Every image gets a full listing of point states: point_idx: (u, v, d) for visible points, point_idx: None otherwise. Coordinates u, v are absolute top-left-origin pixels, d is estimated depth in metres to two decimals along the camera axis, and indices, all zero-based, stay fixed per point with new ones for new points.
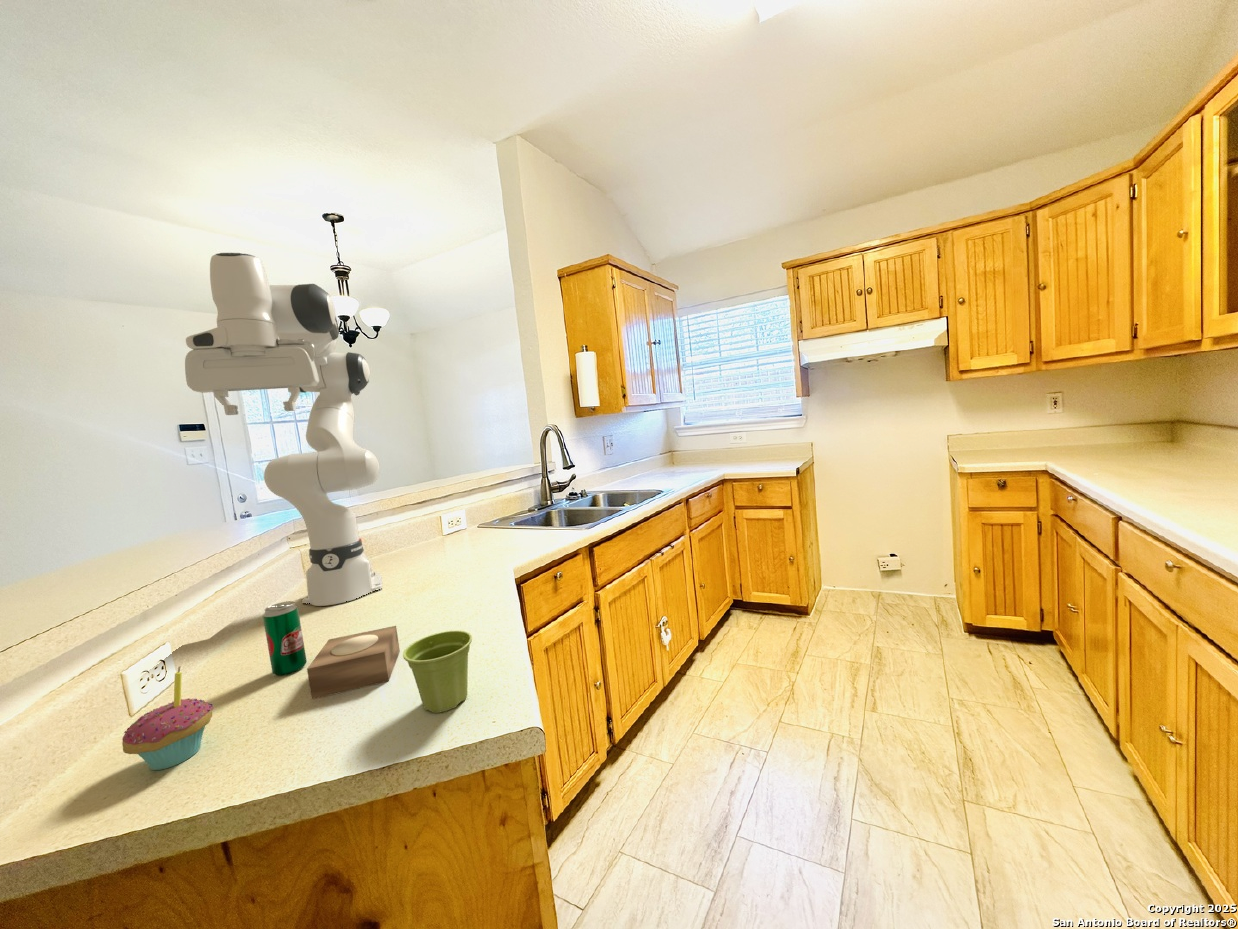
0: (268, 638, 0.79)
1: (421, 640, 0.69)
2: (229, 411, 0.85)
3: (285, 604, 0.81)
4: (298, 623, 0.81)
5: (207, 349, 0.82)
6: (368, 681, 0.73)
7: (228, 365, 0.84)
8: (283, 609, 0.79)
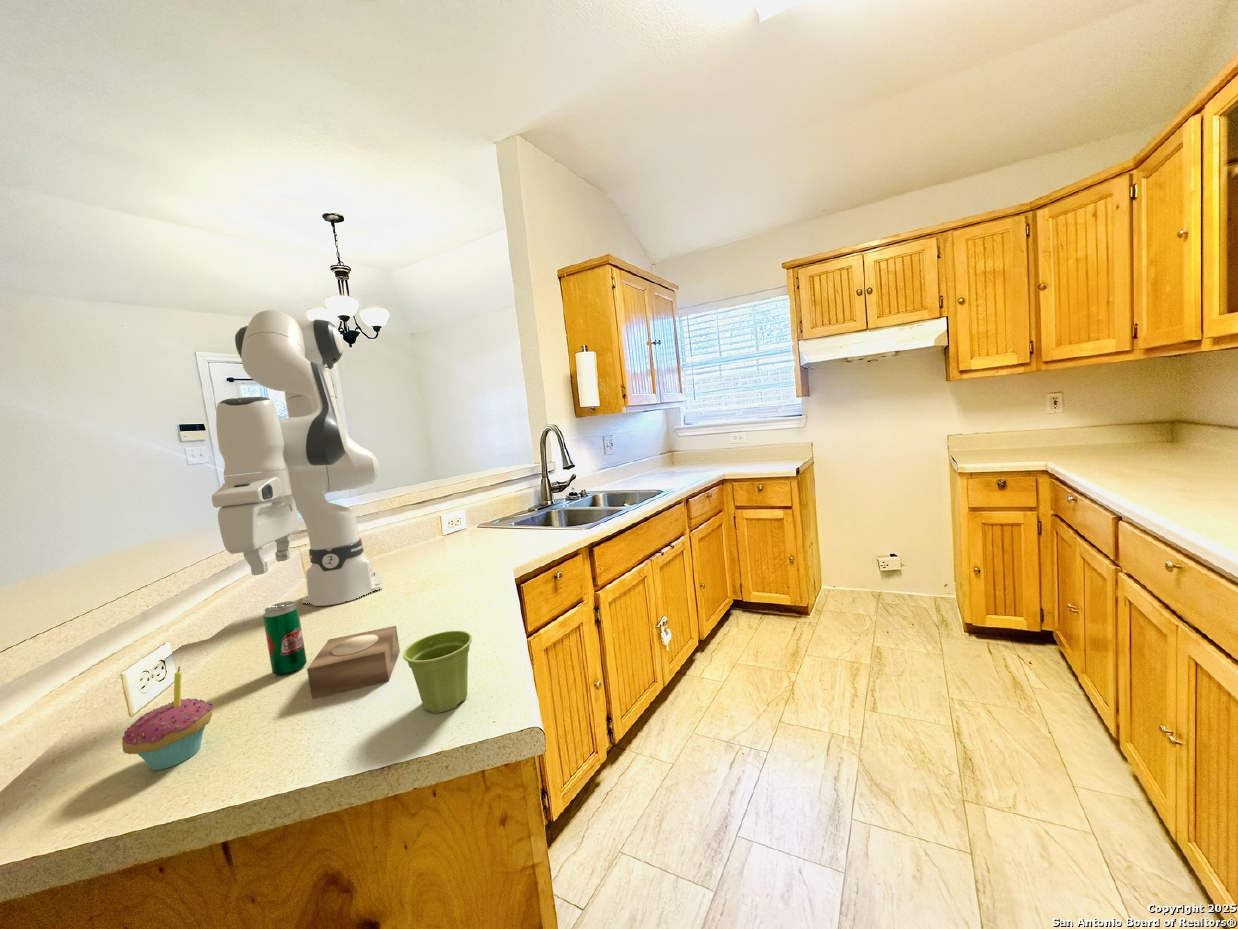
0: (268, 638, 0.79)
1: (421, 640, 0.69)
2: (265, 569, 0.75)
3: (285, 604, 0.81)
4: (298, 623, 0.81)
5: (264, 502, 0.74)
6: (368, 681, 0.73)
7: (265, 517, 0.76)
8: (283, 609, 0.79)
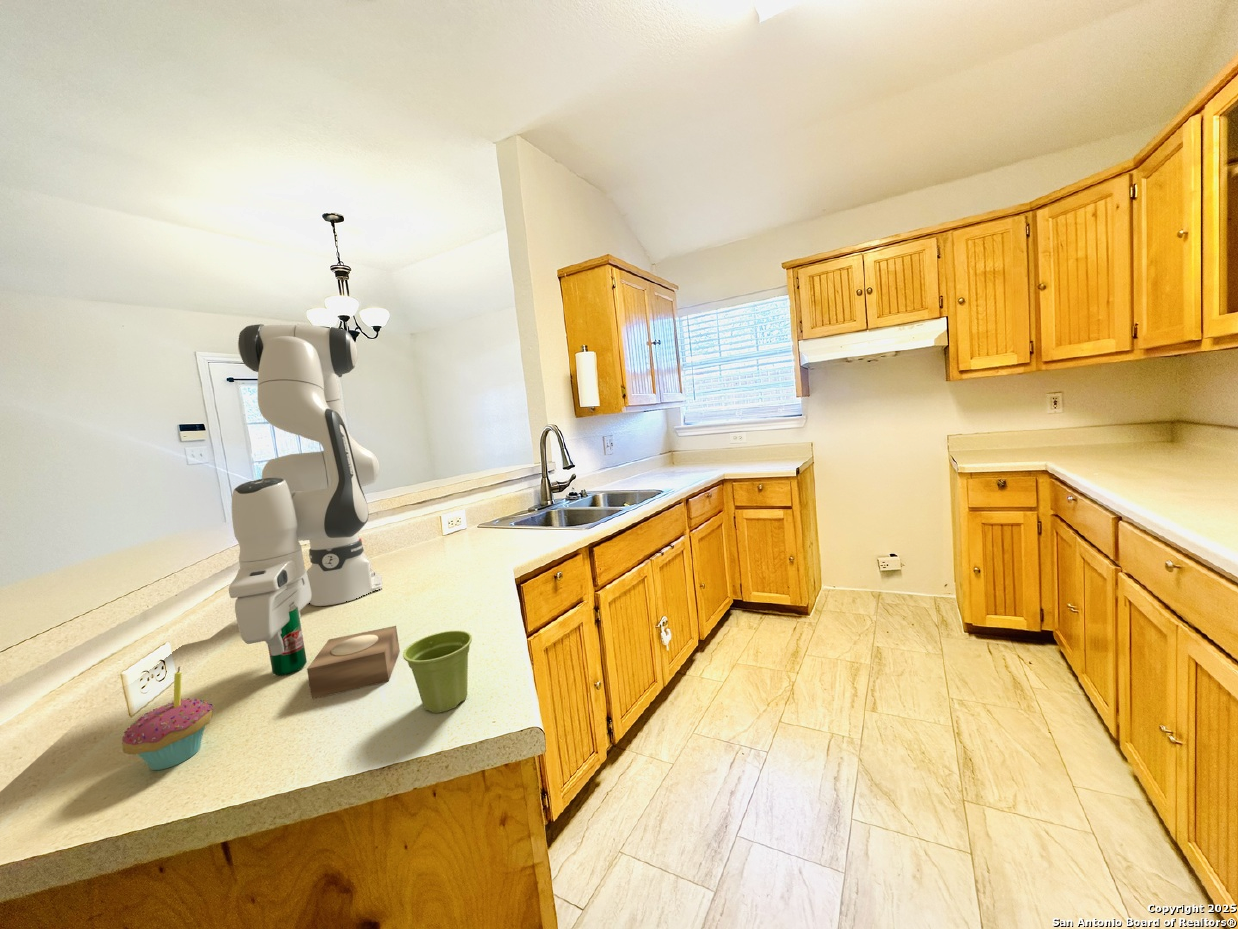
0: None
1: (421, 640, 0.69)
2: (284, 648, 0.78)
3: None
4: (298, 623, 0.81)
5: (280, 588, 0.75)
6: (368, 681, 0.73)
7: (280, 601, 0.78)
8: None
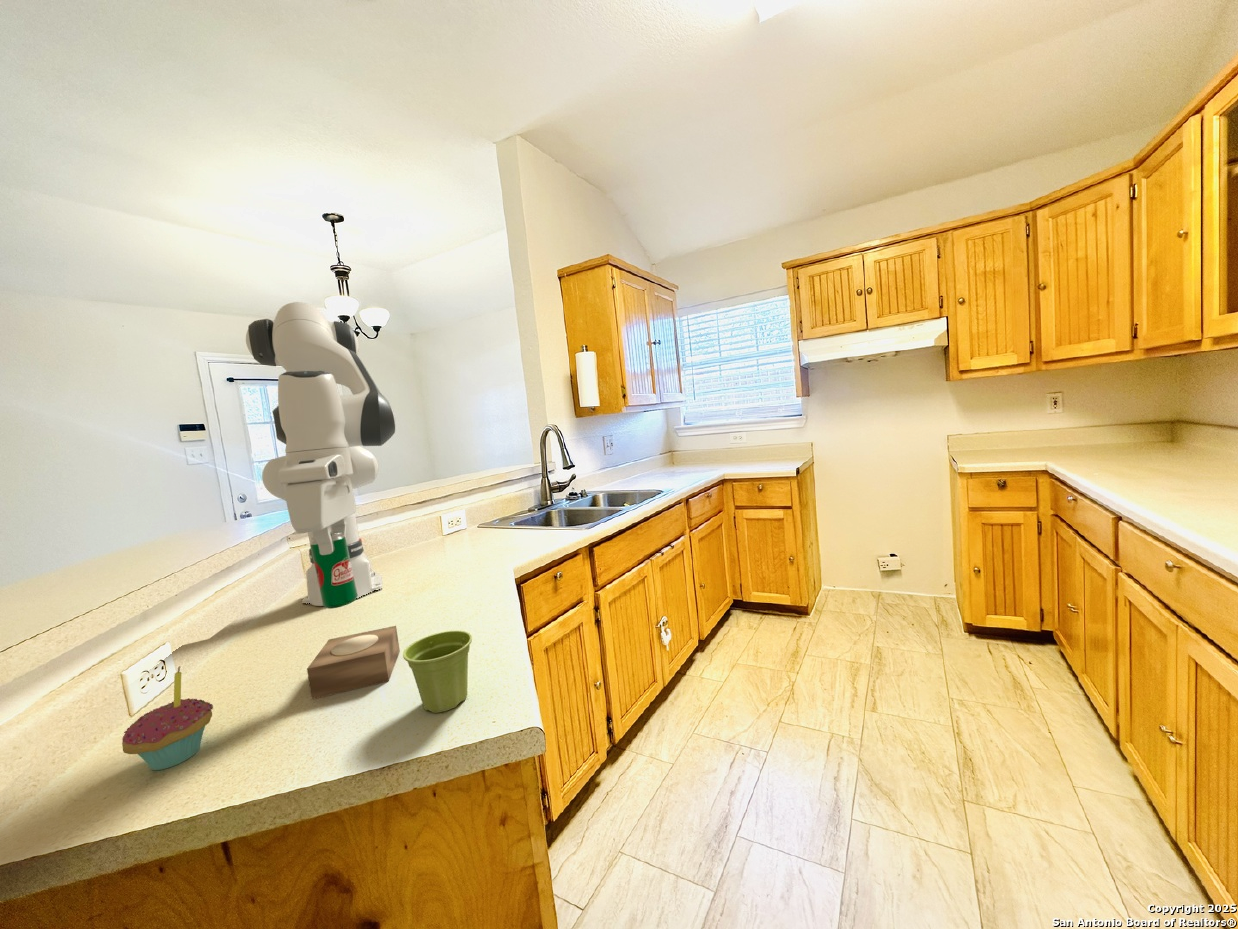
0: (317, 568, 0.74)
1: (421, 640, 0.69)
2: (333, 549, 0.73)
3: (332, 533, 0.76)
4: (347, 553, 0.76)
5: (330, 479, 0.70)
6: (368, 681, 0.73)
7: (329, 497, 0.72)
8: (331, 536, 0.74)
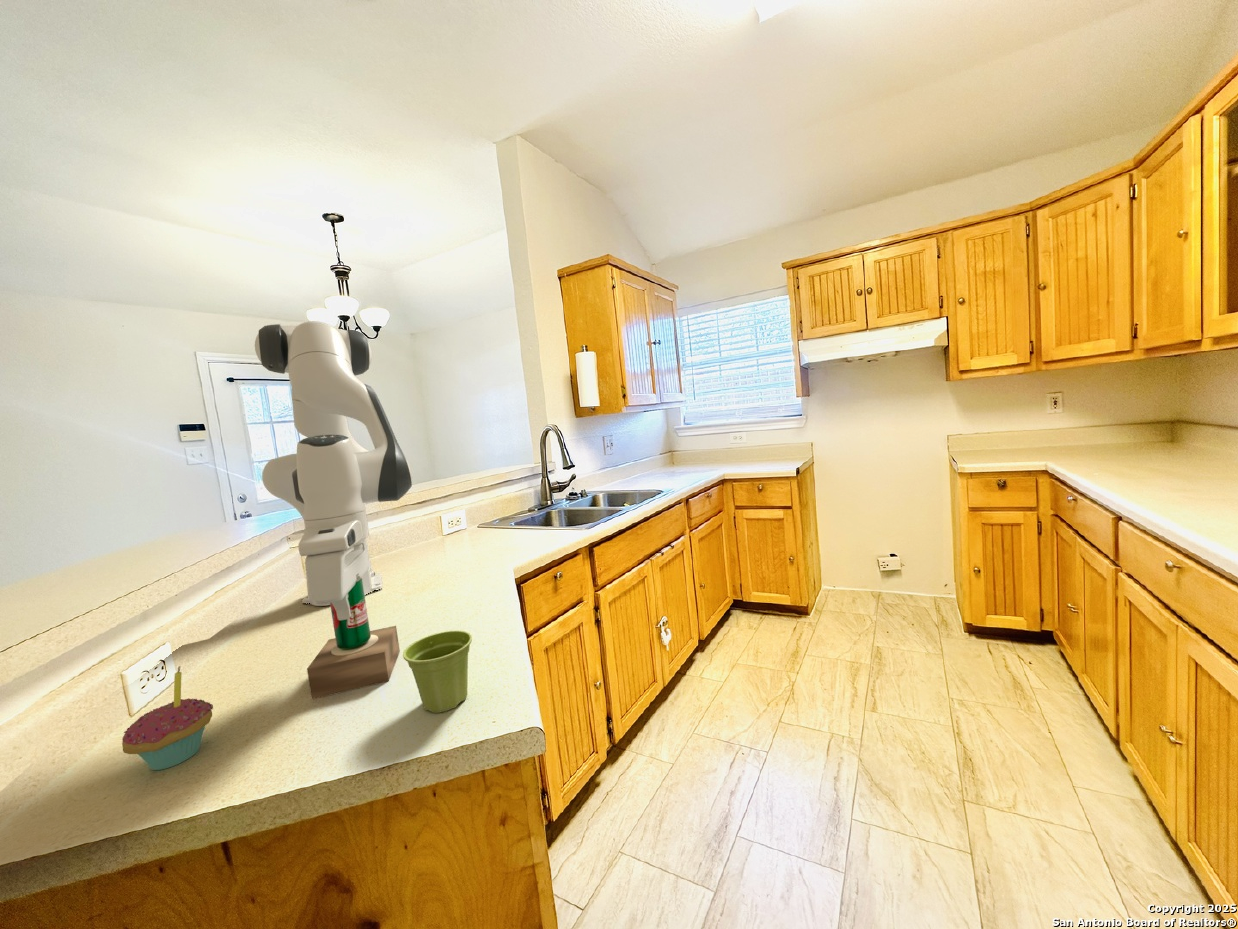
0: (333, 610, 0.74)
1: (421, 640, 0.69)
2: (350, 613, 0.74)
3: None
4: (363, 595, 0.77)
5: (348, 548, 0.71)
6: (368, 681, 0.73)
7: (347, 563, 0.73)
8: None
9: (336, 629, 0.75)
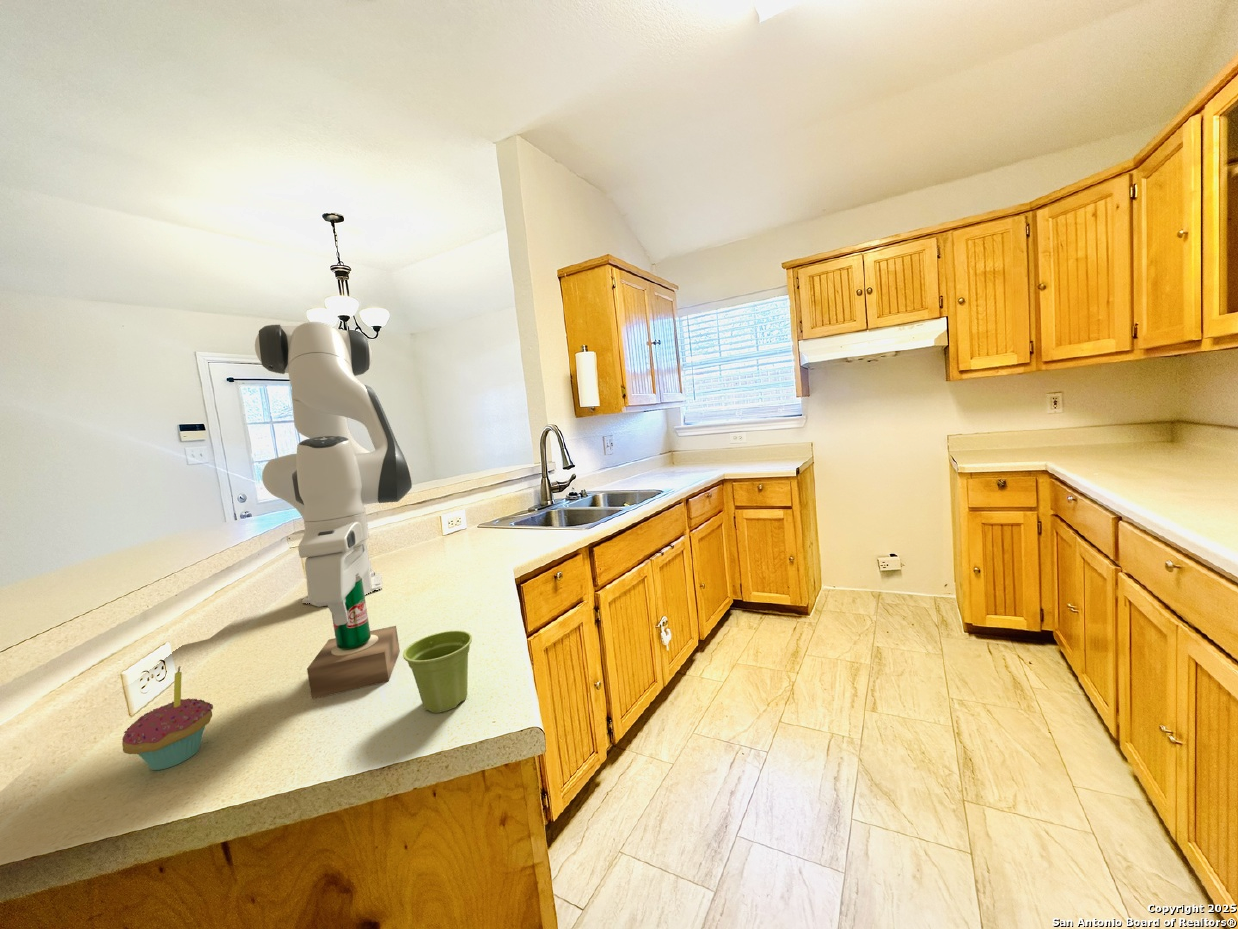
0: None
1: (421, 640, 0.69)
2: (348, 618, 0.72)
3: None
4: (363, 595, 0.77)
5: (348, 549, 0.71)
6: (368, 681, 0.73)
7: (347, 564, 0.73)
8: None
9: (336, 629, 0.75)
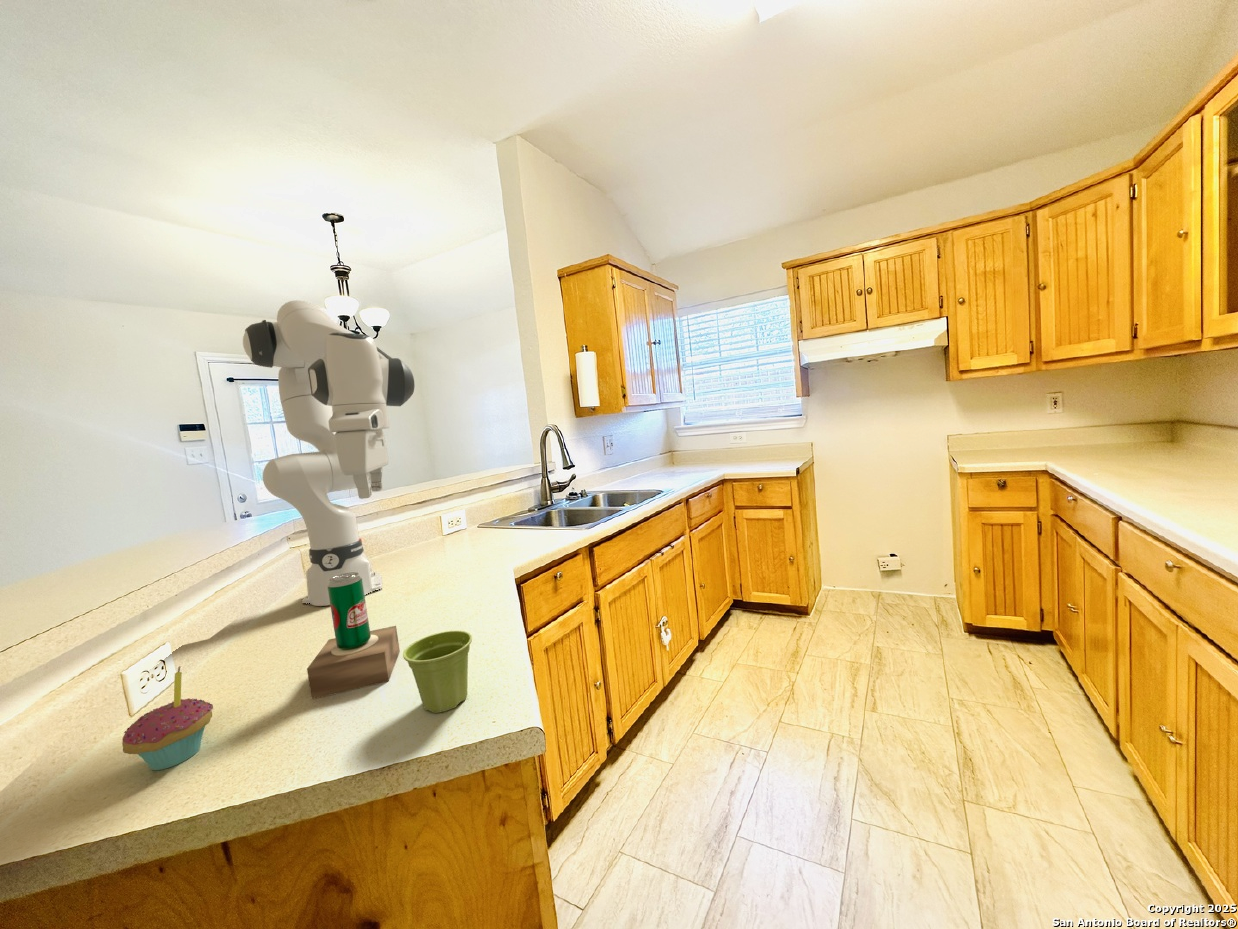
0: (333, 610, 0.74)
1: (421, 640, 0.69)
2: (370, 494, 0.81)
3: (349, 575, 0.77)
4: (363, 595, 0.77)
5: (372, 430, 0.79)
6: (368, 681, 0.73)
7: (370, 446, 0.82)
8: (349, 579, 0.75)
9: (336, 629, 0.75)
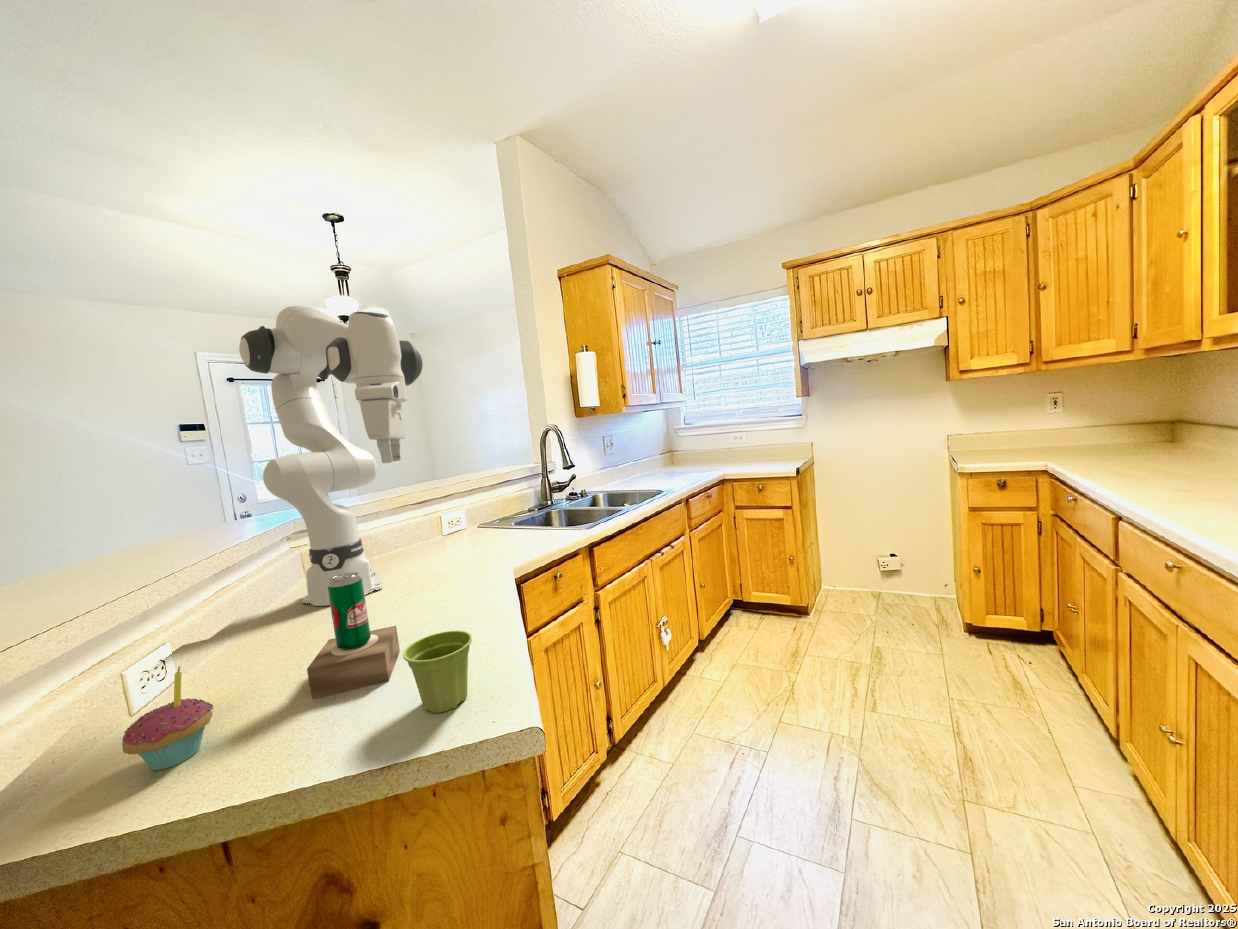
0: (333, 610, 0.74)
1: (421, 640, 0.69)
2: (392, 459, 0.88)
3: (349, 575, 0.77)
4: (363, 595, 0.77)
5: (393, 400, 0.86)
6: (368, 681, 0.73)
7: (391, 416, 0.88)
8: (349, 579, 0.75)
9: (336, 629, 0.75)
